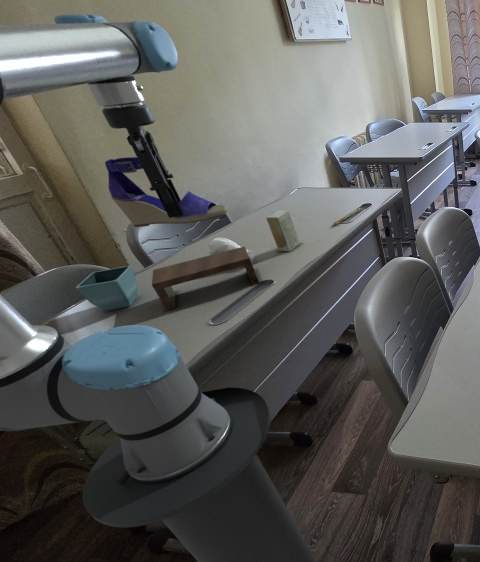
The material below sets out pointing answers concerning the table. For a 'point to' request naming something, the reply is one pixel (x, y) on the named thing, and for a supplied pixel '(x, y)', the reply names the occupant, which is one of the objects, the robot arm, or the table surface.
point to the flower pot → (110, 288)
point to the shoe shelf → (198, 272)
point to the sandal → (152, 199)
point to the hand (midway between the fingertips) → (176, 211)
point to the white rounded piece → (225, 247)
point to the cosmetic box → (283, 230)
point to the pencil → (346, 216)
